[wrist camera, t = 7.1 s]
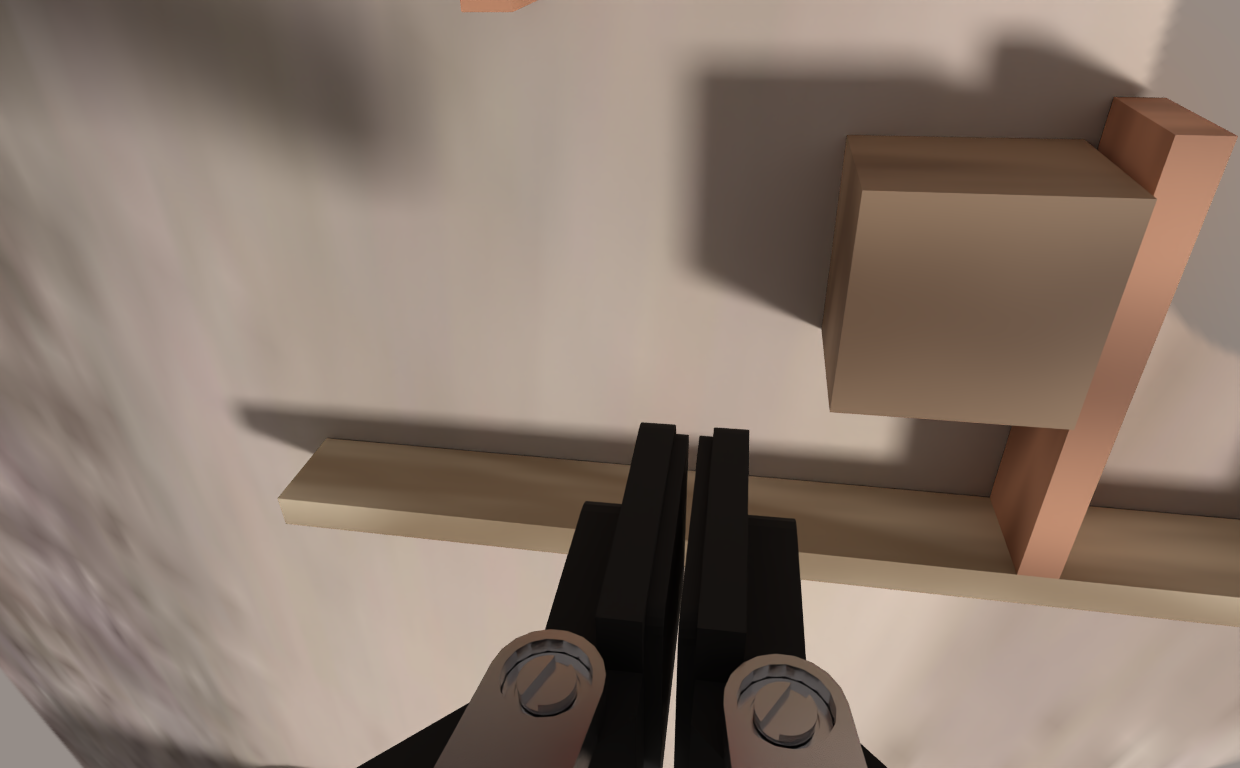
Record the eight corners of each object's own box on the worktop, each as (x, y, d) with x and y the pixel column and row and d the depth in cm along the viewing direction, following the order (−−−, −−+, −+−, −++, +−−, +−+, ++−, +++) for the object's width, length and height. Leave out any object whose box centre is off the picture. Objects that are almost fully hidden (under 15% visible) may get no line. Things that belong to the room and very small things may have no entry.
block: (1023, 337, 20) (1074, 430, 16) (821, 326, 20) (829, 412, 17) (1082, 137, 17) (1156, 198, 14) (846, 133, 18) (862, 190, 14)
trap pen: (1346, 557, 21) (1423, 647, 19) (333, 462, 26) (285, 523, 23) (2230, -754, 9) (2762, -989, 7) (62, -499, 14) (-94, -583, 11)
